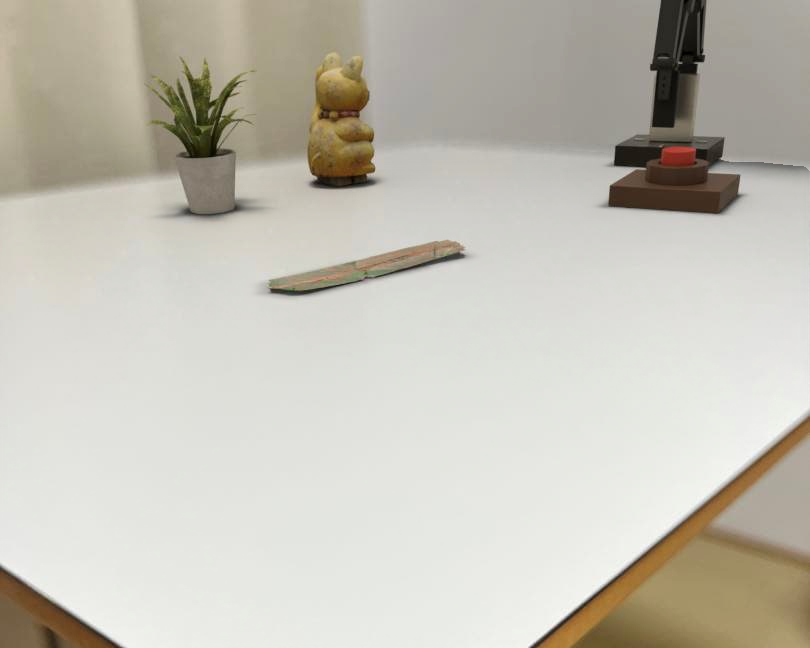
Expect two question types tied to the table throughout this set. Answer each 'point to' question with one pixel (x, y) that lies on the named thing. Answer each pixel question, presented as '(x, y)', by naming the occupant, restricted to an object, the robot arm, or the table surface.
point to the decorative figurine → (340, 124)
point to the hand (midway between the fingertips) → (672, 121)
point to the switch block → (675, 188)
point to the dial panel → (643, 150)
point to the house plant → (203, 142)
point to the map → (368, 266)
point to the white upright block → (679, 112)
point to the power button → (678, 156)
